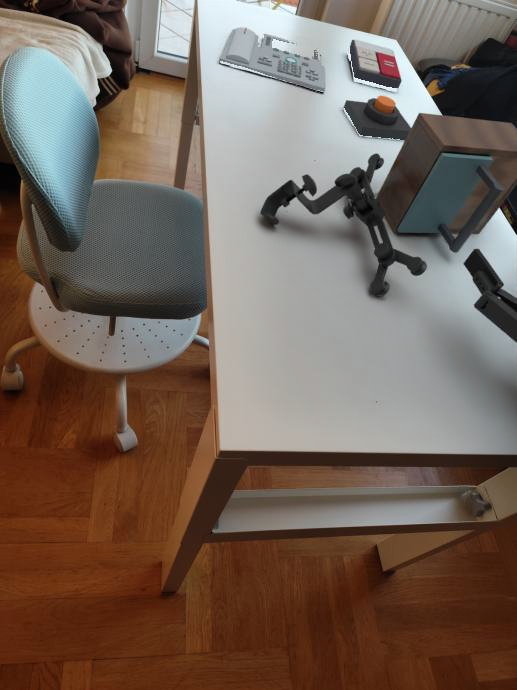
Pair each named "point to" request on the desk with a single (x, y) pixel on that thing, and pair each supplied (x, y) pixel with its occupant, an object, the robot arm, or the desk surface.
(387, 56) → the button panel
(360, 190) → the tablet mount
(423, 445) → the desk surface
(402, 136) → the switch block
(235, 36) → the office telephone
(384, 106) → the light button
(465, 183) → the sliding door
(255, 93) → the desk surface
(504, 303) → the robot arm
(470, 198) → the closet
